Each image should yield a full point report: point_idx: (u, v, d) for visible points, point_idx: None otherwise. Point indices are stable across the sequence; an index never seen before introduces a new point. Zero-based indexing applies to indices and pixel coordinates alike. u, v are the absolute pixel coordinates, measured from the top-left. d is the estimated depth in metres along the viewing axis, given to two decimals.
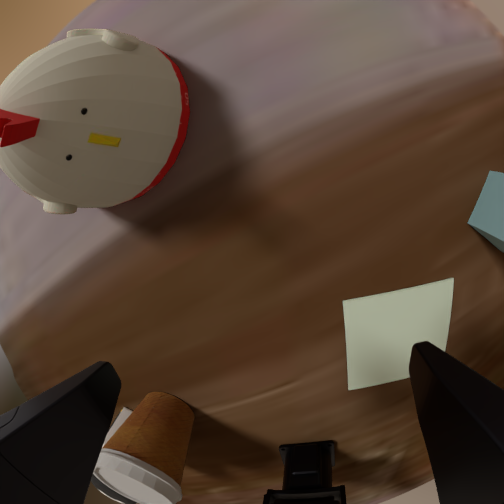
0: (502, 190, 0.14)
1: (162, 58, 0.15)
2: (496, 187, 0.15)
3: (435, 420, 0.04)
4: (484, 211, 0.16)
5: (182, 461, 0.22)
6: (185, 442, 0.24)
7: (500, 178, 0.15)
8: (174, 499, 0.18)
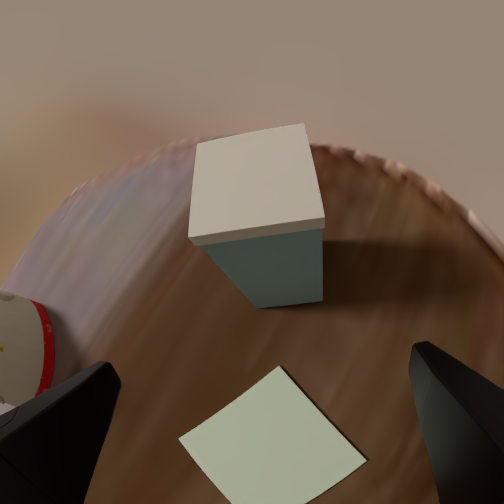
0: None
1: (28, 304, 0.25)
2: None
3: (435, 420, 0.04)
4: None
5: None
6: None
7: None
8: None
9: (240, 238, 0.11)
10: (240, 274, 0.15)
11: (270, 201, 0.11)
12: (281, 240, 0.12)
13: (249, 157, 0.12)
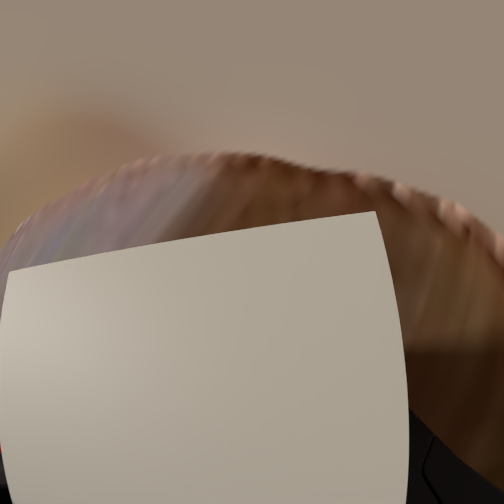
0: None
1: None
2: None
3: None
4: None
5: None
6: None
7: None
8: None
9: None
10: None
11: None
12: None
13: (108, 407, 0.02)
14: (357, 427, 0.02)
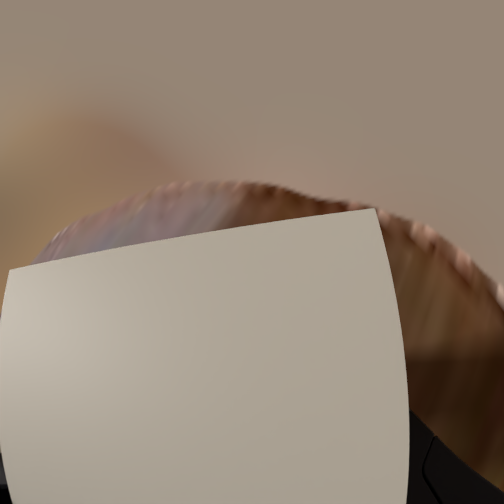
0: None
1: None
2: None
3: None
4: None
5: None
6: None
7: None
8: None
9: None
10: None
11: None
12: None
13: (108, 404, 0.02)
14: (358, 424, 0.02)
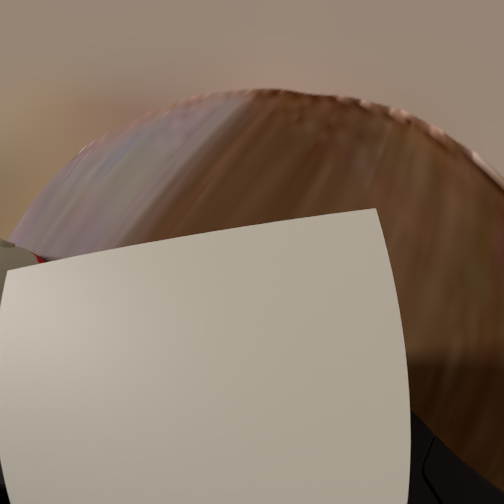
0: None
1: (28, 253, 0.24)
2: None
3: None
4: None
5: None
6: None
7: None
8: None
9: None
10: None
11: None
12: None
13: (105, 407, 0.02)
14: (358, 428, 0.02)
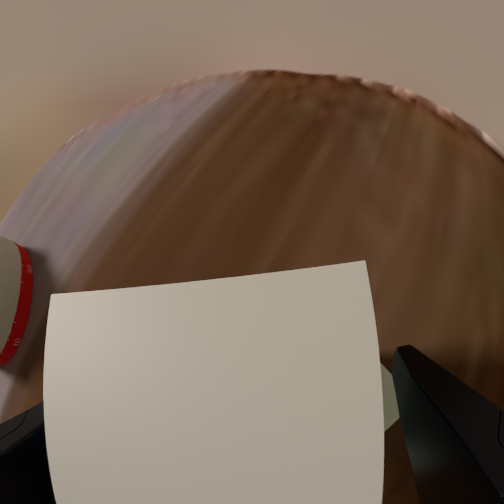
0: None
1: (10, 243, 0.21)
2: None
3: (415, 426, 0.05)
4: None
5: None
6: None
7: None
8: None
9: None
10: None
11: None
12: None
13: (162, 407, 0.03)
14: (347, 415, 0.03)
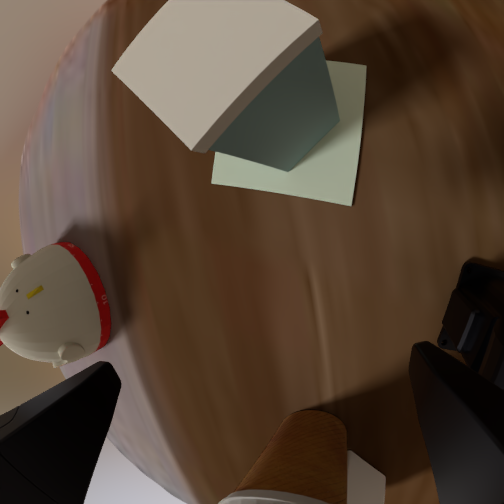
0: None
1: (44, 247, 0.27)
2: None
3: (435, 420, 0.04)
4: None
5: (315, 466, 0.15)
6: (314, 445, 0.17)
7: None
8: None
9: (246, 104, 0.07)
10: (261, 149, 0.12)
11: (245, 44, 0.07)
12: (286, 77, 0.08)
13: (178, 30, 0.07)
14: None
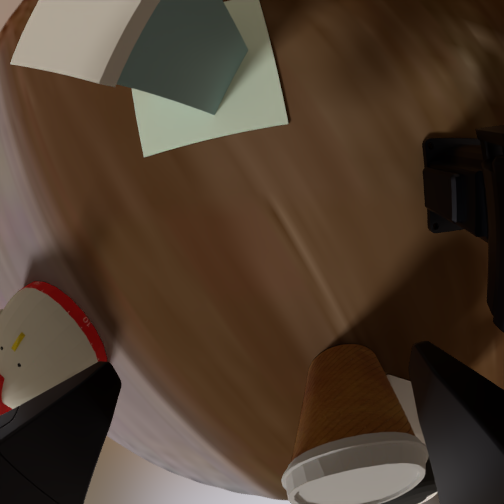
0: None
1: (13, 296, 0.23)
2: None
3: (435, 420, 0.04)
4: None
5: (362, 400, 0.15)
6: (350, 379, 0.17)
7: None
8: (381, 456, 0.11)
9: (141, 27, 0.06)
10: (175, 83, 0.10)
11: None
12: None
13: None
14: None
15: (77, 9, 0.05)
